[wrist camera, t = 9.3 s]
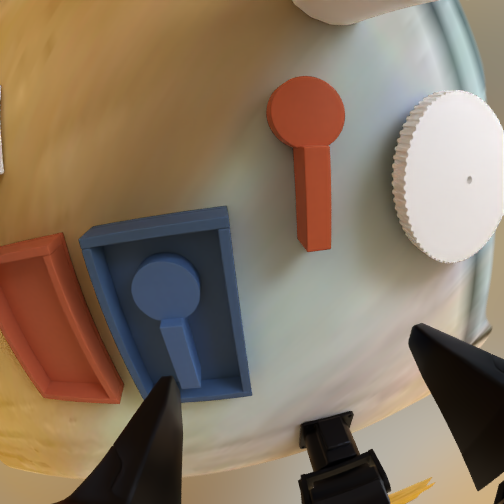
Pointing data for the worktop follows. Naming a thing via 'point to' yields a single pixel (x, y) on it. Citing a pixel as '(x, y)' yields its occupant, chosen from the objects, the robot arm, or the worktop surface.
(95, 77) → the worktop surface
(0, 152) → the milk carton
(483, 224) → the plastic lid
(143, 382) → the blue tray
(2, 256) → the terracotta tray
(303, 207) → the terracotta spoon
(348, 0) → the foam cup
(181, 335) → the blue spoon
